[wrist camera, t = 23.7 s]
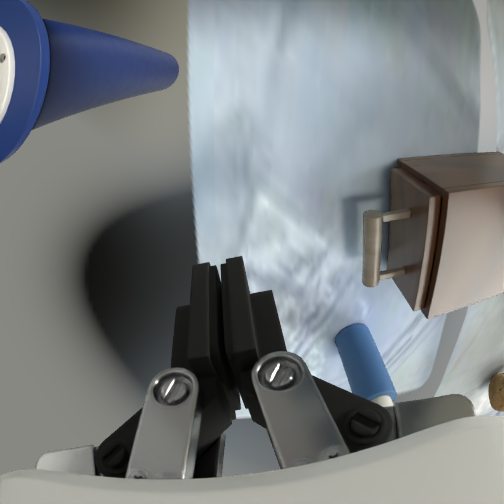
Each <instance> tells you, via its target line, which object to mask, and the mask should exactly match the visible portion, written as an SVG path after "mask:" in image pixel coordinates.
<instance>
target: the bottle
mask: <svg viewBox="0 0 504 504" xmlns="http://www.w3.org/2000/svg"><path fill="white" fill-rule="evenodd" d="M336 345H337V348H338V351H339V354H340V357H341V360H342V363H343V366H344V369H345V372H346V375H347V378H348V381H349V384H350V387H351V390H352V393H353V394H355V395H358V396H360V397H362V398H365V399H367V400H370V401H372V402H374V403H377V404H379V405H381V406H382V407H388V406H394V405H393V401H395V399H396V397H397V393H396V390H395V388H394V386H393V383H392V381H391V379H390V376H389V374H388V372H387V369H386V367H385V365H384V362H383V360H382V358H381V355H380V353H379V351H378V349H377V346H376V344H375V342H374V340H373V338H372V335H371V333H370V331H369V329H368V327H367V326H365V325H363V324H354V325H350V326H348V327H346V328H344V329H343V330H341V331H340V332H339V334H338V335H337V337H336Z"/></svg>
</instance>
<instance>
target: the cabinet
mask: <svg viewBox="0 0 504 504" xmlns="http://www.w3.org/2000/svg"><path fill="white" fill-rule="evenodd" d="M397 168H402V169H404V170H405V171H407V172H408V173H410V174H411V175H413V176H414V177H416V178H417V179H419V180H420V181H422V182H423V183H424V184H426V185H427V186H429V187H430V188H431V189H433V190H434V191H436V192H437V193H438V194H440V195H441V198H442V209H441V218H440V227H439V234H438V241H437V248H436V255H435V261H434V267H433V272H432V277H431V283H430V288H429V289H428V291H427V296H426V300H425V305H424V308H423V309H421V311H422V312H423V314H424V315H425V317H426V318H427V319H429V318H433V317H436V316H439V315H442V314H445V313H448V312H451V311H454V310H457V309H460V308H463V307H466V306H469V305H472V304H475V303H478V302H480V301H483V300H486V299H489V298H491V297H494V296H497V295H499V294H502V293H504V154H502V153H500V152H486V153H466V154H450V155H436V156H424V157H412V158H402V159H397Z"/></svg>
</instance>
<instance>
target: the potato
mask: <svg viewBox="0 0 504 504" xmlns="http://www.w3.org/2000/svg"><path fill="white" fill-rule="evenodd" d="M489 399H490V404H491V406H492V408H493V409H495V410H497V411H504V373H503V374H502V373H499V374H496V375H494V376H493V377H492V378H491V381H490V384H489Z"/></svg>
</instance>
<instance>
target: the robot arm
mask: <svg viewBox="0 0 504 504" xmlns="http://www.w3.org/2000/svg"><path fill="white" fill-rule="evenodd" d="M14 79H15V57H14V50H13V47H12V43H11V40H10V38H9V36H8V35H7V33H6V32H5V31H4V29H3V28H2V27H1V26H0V123H1V121H2V119H3V117H4V115H5V113H6V111H7V108H8V105H9V103H10V99H11V95H12V91H13V86H14ZM174 327H175V328H174V337H173V347H172V359H171V368H169V369H167V370H164V371H162V372H160V373H159V374H158V375H156V376H155V377H154V379H153V380H152V381H151V383H150V385H149V387H148V391H147V394H146V398H145V402H144V405H143V408H142V409H140V410H139V411H138V412H137V413H136V414H134V415H133V416H132V417H131V418H130V419H129V420H128V421H126V422H125V423H124V424H123V425H122V426H121V427H119V428H118V429H117V430H116V431H115V432H114V433H112V434H111V435H110V436H109V437H108V438H107V439H105V440H104V441H103V442H102V443H101V445H100V446H99V447H95V446H94V445H88V446H83V447H77V448H71V449H64V450H58V451H49V452H46V453H44V454H42V455H41V456H40V457H39V458H38V460H37V462H36V467H35V469H22V470H17V471H12V472H9V473H6V474H4V475H1V476H0V504H504V417H503V416H496V415H479V416H476V413H475V409H474V406H473V404H472V402H471V401H470V400H469V399H468V398H467V397H465V396H463V395H460V394H450V395H445V396H439V397H434V398H427V399H422V400H414V401H407V402H400V403H395V404H394V406H388V407H382V406H381V405H379V404H377V403H374V402H372V401H370V400H367V399H365V398H362V397H360V396H358V395H355V394H353V393H351V392H348V391H346V390H344V389H341V388H339V387H337V386H335V385H332V384H330V383H328V382H326V381H323V380H321V379H319V378H317V377H315V376H313V375H311V373H310V371H309V369H308V367H307V365H306V363H305V362H304V361H303V359H302V358H301V357H299V356H298V355H296V354H294V353H290V352H287V350H286V346H285V342H284V337H283V333H282V329H281V325H280V321H279V317H278V313H277V309H276V305H275V301H274V297H273V293H272V290H268V291H263V292H258V293H252V294H250V291H249V286H248V282H247V277H246V272H245V267H244V262H243V258H242V256H239V257H234V258H229V259H226V263H225V264H221V281H220V277H219V274H218V270H217V267H216V265H215V266H210V263H209V262H207V263H202V264H197V265H193V268H192V281H191V295H190V305H185V306H179V307H177V309H176V317H175V326H174ZM239 392H240V394H239ZM240 395H241V398H242V400H243V403H244V406H245V408H246V409H247V408H248V409H249V412H250V415H251V418H252V420H253V421H254V422H256V423H257V424H259V425H261V426H262V427H264V428H266V429H267V432H268V435H269V438H270V441H271V443H272V446H273V449H274V452H275V455H276V457H277V460H278V463H279V466H280V468H281V469H280V470H274V471H267V472H261V473H253V474H246V475H237V476H227V477H222V468H223V457H224V447H225V430H226V429H227V428H228V427H229V426H230V425H231V424H232V420H234V419H236V414H235V410H241V403H240Z"/></svg>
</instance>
